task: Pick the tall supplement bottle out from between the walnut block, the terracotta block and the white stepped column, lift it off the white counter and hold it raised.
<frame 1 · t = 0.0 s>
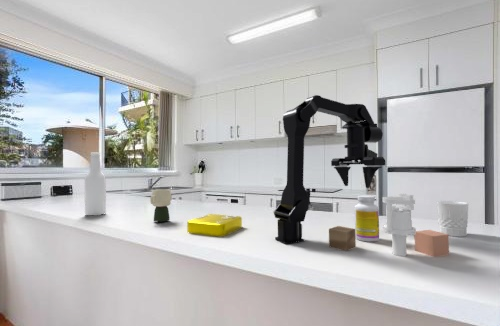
hand: (356, 186, 91), 15 cm above the countertop, tool pointing down, fingers open, 9 cm apart
cream and green figurine: (161, 222, 108), on the countertop
terracotta block: (431, 252, 66), on the countertop
element tile: (215, 231, 93), on the countertop
alcohol: (95, 214, 127), on the countertop
walnut block: (342, 247, 71), on the countertop
white cup: (452, 234, 83), on the countertop
white stepped column: (399, 254, 65), on the countertop
supplement bottle: (366, 239, 79), on the countertop
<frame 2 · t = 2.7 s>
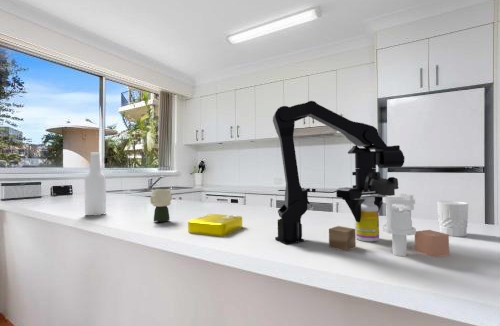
hand: (366, 220, 79), 6 cm above the countertop, tool pointing down, fingers closed on supplement bottle, 7 cm apart
supplement bottle: (366, 239, 79), on the countertop, touching gripper
everything else where it was.
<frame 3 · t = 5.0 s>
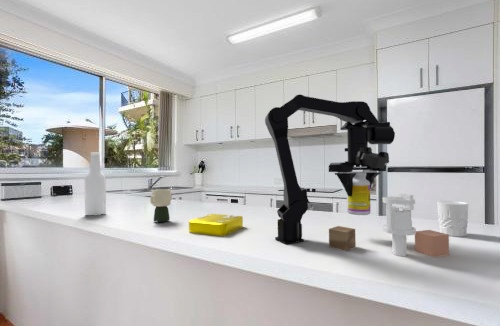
hand: (358, 195, 80), 13 cm above the countertop, tool pointing down, fingers closed on supplement bottle, 7 cm apart
supplement bottle: (358, 214, 80), point 7 cm above the countertop, touching gripper
everything else where it was.
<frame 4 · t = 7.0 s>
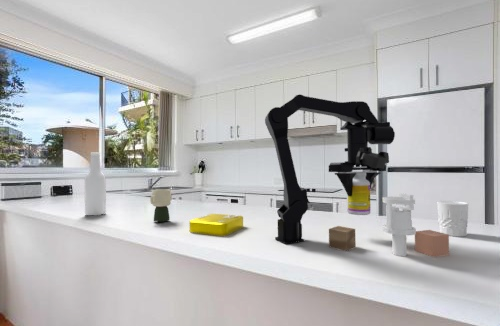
hand: (358, 195, 80), 13 cm above the countertop, tool pointing down, fingers closed on supplement bottle, 7 cm apart
supplement bottle: (358, 214, 80), point 7 cm above the countertop, touching gripper
at the end: the gripper is holding supplement bottle; supplement bottle point 7.2 cm above the countertop; walnut block moved 0.1 cm from its start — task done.
